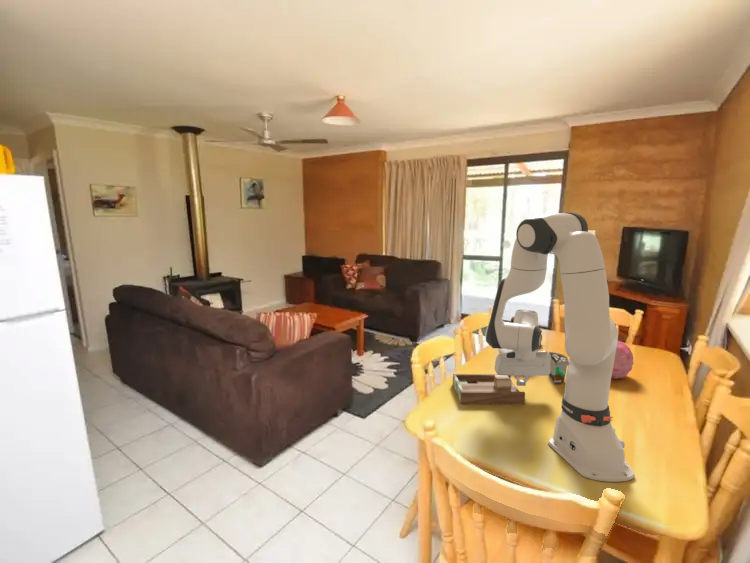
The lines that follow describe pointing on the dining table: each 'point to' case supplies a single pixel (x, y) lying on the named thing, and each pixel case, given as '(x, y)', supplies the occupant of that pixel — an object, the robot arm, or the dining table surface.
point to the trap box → (484, 390)
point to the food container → (558, 367)
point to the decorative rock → (622, 361)
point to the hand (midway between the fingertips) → (521, 385)
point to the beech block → (502, 382)
